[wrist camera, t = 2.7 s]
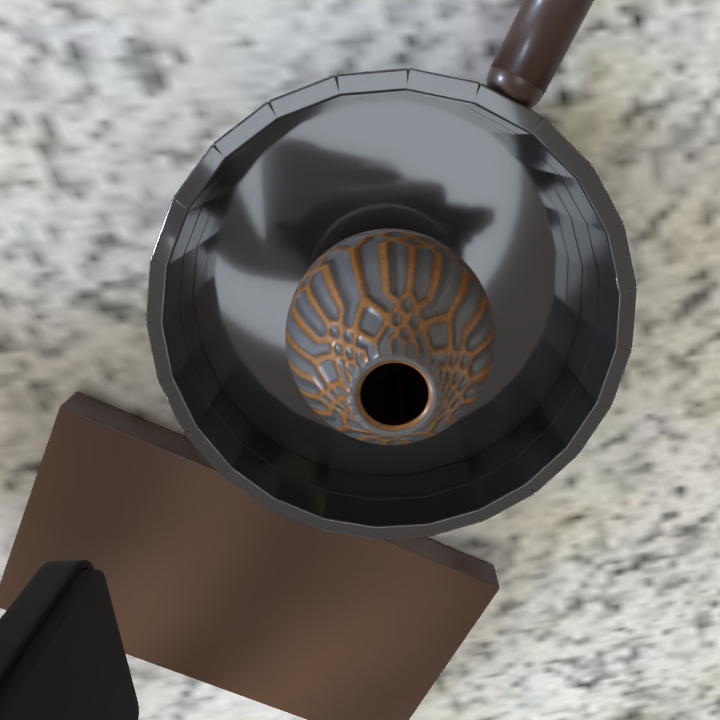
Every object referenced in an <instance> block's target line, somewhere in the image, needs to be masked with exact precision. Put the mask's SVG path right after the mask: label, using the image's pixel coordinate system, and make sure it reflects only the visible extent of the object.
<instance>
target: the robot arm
mask: <svg viewBox="0 0 720 720" xmlns="http://www.w3.org/2000/svg"><path fill="white" fill-rule="evenodd" d="M138 716H139V706H138V701H137V697H136V693H135V689H134V686H133V682H132V678H131V674H130V670H129V666H128V662H127V659H126V655H125V651H124V647H123V643H122V639H121V636H120V632H119V628H118V624H117V620H116V616H115V613H114V609H113V605H112V601H111V597H110V593H109V590H108V586H107V582H106V578H105V575H104V573H103V572H102V571H101V570H98V569H97V570H94V567H93V565H92V564H91V562H90V561H88V560H67V561H49V562H47V563H45V564H44V565H43V566H41V567H40V569H39V570H38V571H37V572H36V574H35V575H34V576H33V578H32V579H31V580H30V581H29V583H28V584H27V585H26V587H25V588H24V589H23V590H22V592H21V593H20V594H19V596H18V597H17V598H16V599H15V601H14V602H13V603H12V605H11V606H10V607H9V608H8V610H7V611H6V612H5V614H4V615H3V616H2V617H1V619H0V720H138Z"/></svg>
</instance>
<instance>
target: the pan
mask: <svg viewBox="0 0 720 720" xmlns="http://www.w3.org/2000/svg"><path fill="white" fill-rule="evenodd" d="M376 229H403V230H410V231H414V232H418V233H421V234H424V235H427V236H429V237H431V238H433V239H435V240H437V241H439V242H441V243H442V244H444V245H446V246H447V247H449V248H450V249H451V250H453V251H454V252H455V253H456V254H458V255H459V256H460V257H461V258H462V259H463V260H464V261H465V262H466V263H467V264H468V265H469V267H470V268H471V269H472V270H473V272H474V273H475V274H476V276H477V277H478V279H479V281H480V282H481V284H482V286H483V288H484V290H485V292H486V294H487V296H488V299H489V302H490V305H491V308H492V312H493V317H494V325H495V349H494V356H493V361H492V365H491V369H490V372H489V375H488V378H487V380H486V382H485V385H484V387H483V389H482V390H481V392H480V394H479V396H478V397H477V399H476V400H475V402H474V403H473V404H472V406H471V407H470V408H469V409H468V410H467V412H466V413H465V414H464V415H463V416H462V417H460V418H459V419H458V420H457V421H456V422H455V423H453V424H452V425H451V426H449V427H448V428H446V429H445V430H443V431H442V432H440V433H438V434H436V435H434V436H432V437H429V438H427V439H424V440H421V441H417V442H413V443H408V444H401V445H380V444H373V443H368V442H364V441H360V440H357V439H355V438H352V437H350V436H348V435H345V434H344V433H342V432H340V431H338V430H337V429H335V428H333V427H332V426H331V425H329V424H328V423H326V422H325V421H324V420H323V419H322V418H321V417H320V416H319V415H318V414H317V413H316V412H315V411H314V410H313V409H312V408H311V407H310V405H309V404H308V403H307V401H306V400H305V399H304V397H303V395H302V394H301V392H300V390H299V388H298V386H297V384H296V382H295V380H294V378H293V375H292V372H291V369H290V366H289V362H288V358H287V352H286V341H285V328H286V320H287V315H288V311H289V307H290V304H291V300H292V298H293V295H294V293H295V291H296V288H297V286H298V285H299V283H300V281H301V279H302V278H303V276H304V275H305V273H306V272H307V270H308V269H309V268H310V267H311V265H312V264H313V263H314V262H315V261H316V260H317V259H318V258H319V257H320V256H321V255H322V254H324V253H325V252H326V251H327V250H328V249H330V248H331V247H332V246H334V245H335V244H337V243H339V242H340V241H342V240H344V239H346V238H348V237H351V236H353V235H356V234H359V233H362V232H366V231H370V230H376ZM635 302H636V281H635V276H634V271H633V266H632V261H631V257H630V252H629V247H628V242H627V237H626V232H625V228H624V225H623V221H622V220H621V218H620V216H619V214H618V212H617V210H616V208H615V207H614V205H613V203H612V201H611V199H610V197H609V195H608V193H607V192H606V190H605V188H604V186H603V184H602V182H601V180H600V179H599V177H598V175H597V173H596V171H595V169H594V167H593V166H591V163H590V162H589V161H588V160H587V159H586V158H585V157H584V156H583V155H582V154H581V153H580V152H579V151H578V150H577V149H576V148H575V147H574V146H573V145H572V144H571V143H570V142H569V141H568V140H567V139H566V138H565V137H564V136H563V135H562V134H561V133H560V132H559V131H558V130H557V129H556V128H555V127H554V126H553V125H552V124H551V123H550V122H549V121H548V120H547V119H546V118H544V117H542V115H540V114H538V113H536V112H534V111H533V110H531V109H529V108H527V107H525V106H523V105H521V104H520V103H518V102H516V101H514V100H512V99H510V98H508V97H506V96H505V95H503V94H501V93H499V92H497V91H495V90H493V89H492V88H490V87H488V86H486V85H484V84H482V83H479V82H476V81H471V80H466V79H461V78H456V77H451V76H447V75H442V74H437V73H432V72H427V71H422V70H417V69H412V68H409V69H407V68H401V69H390V70H378V71H367V72H355V73H344V74H337V75H336V76H335V75H332V76H330V77H327V78H325V79H322V80H320V81H317V82H314V83H312V84H309V85H307V86H304V87H302V88H299V89H297V90H294V91H291V92H289V93H286V94H284V95H281V96H279V97H276V98H274V99H271V100H270V101H269V102H266V103H264V104H263V105H262V106H260V107H259V108H258V109H257V110H255V111H254V112H253V113H251V114H250V115H249V116H247V117H246V118H245V119H244V120H242V121H241V122H240V123H238V124H237V125H236V126H235V127H233V128H232V129H231V130H229V131H228V132H227V133H225V134H224V135H223V136H222V137H220V138H219V139H218V140H216V141H215V142H214V145H211V146H210V148H209V149H208V150H207V152H206V153H205V154H204V156H203V157H202V159H201V160H200V161H199V163H198V164H197V165H196V167H195V168H194V169H193V171H192V172H191V174H190V175H189V176H188V178H187V179H186V180H185V182H184V183H183V185H182V186H181V187H180V189H179V190H178V191H177V193H176V194H175V196H174V199H173V200H172V201H171V204H170V206H169V209H168V212H167V215H166V217H165V220H164V223H163V226H162V229H161V231H160V234H159V237H158V240H157V242H156V245H155V248H154V251H153V253H152V256H151V261H150V271H149V285H148V300H147V314H146V321H147V323H146V324H147V329H148V334H149V339H150V344H151V349H152V354H153V358H154V363H155V368H156V373H157V378H158V380H159V384H160V386H161V388H162V390H163V392H164V394H165V396H166V398H167V400H168V402H169V404H170V406H171V408H172V410H173V412H174V414H175V416H176V418H177V420H178V422H179V424H180V426H181V428H182V430H183V431H184V432H185V435H186V436H187V437H188V438H189V440H190V441H191V442H192V443H193V444H194V445H195V446H196V448H197V449H198V450H199V451H200V452H201V453H202V455H203V456H204V457H205V458H206V459H207V460H208V461H209V463H210V464H211V465H212V466H213V467H214V468H215V470H216V471H217V472H218V473H219V474H220V475H221V476H222V477H223V478H225V479H226V480H228V481H229V482H230V483H232V484H233V485H235V486H236V487H237V488H239V489H240V490H242V491H243V492H244V493H246V494H247V495H249V496H250V497H251V498H253V499H254V500H256V501H257V502H258V503H260V504H261V505H263V506H264V507H265V508H268V510H271V511H273V512H276V513H278V514H281V515H283V516H285V517H288V518H290V519H293V520H295V521H298V522H300V523H303V524H305V525H307V526H310V527H312V528H315V529H317V530H319V529H320V530H322V531H328V532H334V533H340V534H346V535H352V536H358V537H364V538H370V539H374V538H375V539H390V538H408V537H426V536H430V535H431V536H433V535H437V534H440V533H444V532H447V531H451V530H454V529H458V528H461V527H465V526H468V525H472V524H475V523H479V522H483V521H484V519H485V520H487V519H489V518H491V517H493V516H495V515H497V514H498V513H500V512H502V511H504V510H506V509H508V508H509V507H511V506H513V505H515V504H517V503H519V502H520V501H522V500H524V499H526V498H528V497H530V496H531V495H533V494H534V492H535V493H536V492H537V491H538V490H540V489H541V488H542V487H543V486H544V485H545V484H546V483H547V482H548V481H550V480H551V479H552V478H553V477H554V476H555V475H556V474H557V473H559V472H560V471H561V470H562V469H563V468H564V467H565V466H566V465H567V464H569V463H570V462H571V461H572V460H573V459H574V458H575V457H576V456H577V454H579V453H580V452H581V450H582V449H583V447H584V446H585V444H586V443H587V441H588V440H589V438H590V437H591V435H592V434H593V432H594V431H595V430H596V428H597V427H598V425H599V424H600V422H601V421H602V419H603V418H604V416H605V415H606V413H607V412H608V410H609V409H610V407H611V405H612V403H613V401H614V398H615V395H616V392H617V389H618V387H619V384H620V381H621V378H622V375H623V373H624V370H625V367H626V364H627V361H628V359H629V356H630V353H631V348H632V342H633V329H634V315H635Z"/></svg>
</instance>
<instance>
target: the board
mask: <svg viewBox="0 0 720 720" xmlns="http://www.w3.org/2000/svg"><path fill="white" fill-rule="evenodd" d="M67 560H88V561H90V562H91V564H92V565H93V567H94V570H97V569H98V570H101V571H102V572H103V573H104V575H105V578H106V582H107V586H108V590H109V593H110V597H111V601H112V605H113V609H114V613H115V616H116V620H117V624H118V628H119V632H120V636H121V639H122V643H123V647H124V651H125V653H126V654H128V655H131V656H134V657H137V658H139V659H142V660H145V661H148V662H150V663H153V664H156V665H159V666H161V667H164V668H167V669H170V670H172V671H175V672H178V673H181V674H183V675H186V676H189V677H192V678H194V679H197V680H200V681H203V682H205V683H208V684H211V685H214V686H216V687H219V688H222V689H225V690H227V691H230V692H233V693H236V694H238V695H241V696H244V697H247V698H249V699H252V700H255V701H258V702H260V703H263V704H266V705H269V706H271V707H274V708H277V709H280V710H282V711H285V712H288V713H291V714H293V715H296V716H299V717H302V718H304V719H307V720H409V719H410V717H411V716H412V714H413V713H414V712H415V710H416V709H417V707H418V706H419V704H420V703H421V701H422V700H423V698H424V697H425V696H426V694H427V693H428V691H429V690H430V688H431V687H432V685H433V684H434V683H435V681H436V680H437V678H438V677H439V675H440V674H441V672H442V671H443V669H444V668H445V667H446V665H447V664H448V662H449V661H450V659H451V658H452V656H453V655H454V654H455V652H456V651H457V649H458V648H459V646H460V645H461V643H462V642H463V640H464V639H465V638H466V636H467V635H468V633H469V632H470V630H471V629H472V627H473V626H474V625H475V623H476V622H477V620H478V619H479V617H480V616H481V614H482V613H483V612H484V610H485V609H486V607H487V606H488V604H489V603H490V601H491V600H492V598H493V597H494V596H495V594H496V593H497V591H498V590H499V588H500V587H499V583H498V580H497V576H496V573H495V569H494V566H492V565H490V564H488V563H485V562H483V561H480V560H478V559H476V558H473V557H471V556H468V555H466V554H464V553H461V552H459V551H457V550H454V549H452V548H449V547H447V546H445V545H442V544H440V543H437V542H435V541H433V540H430V539H428V538H425V537H408V538H390V539H375V538H374V539H370V538H364V537H358V536H352V535H346V534H340V533H334V532H328V531H322V530H320V529H319V530H317V529H315V528H312V527H310V526H307V525H305V524H303V523H300V522H298V521H295V520H293V519H290V518H288V517H285V516H283V515H281V514H278V513H276V512H273V511H271V510H268V508H265V507H264V506H263V505H261V504H260V503H258V502H257V501H256V500H254V499H253V498H251V497H250V496H249V495H247V494H246V493H244V492H243V491H242V490H240V489H239V488H237V487H236V486H235V485H233V484H232V483H230V482H229V481H228V480H226V479H225V478H223V477H222V476H221V475H220V474H219V473H218V472H217V471H216V470H215V468H214V467H213V466H212V465H211V464H210V463H209V461H208V460H207V459H206V458H205V457H204V456H203V455H202V453H201V452H200V451H199V450H198V449H197V448H196V446H195V445H194V444H193V443H192V442H191V441H190V440H189V438H186V437H184V436H181V435H179V434H177V433H174V432H172V431H170V430H167V429H165V428H162V427H160V426H158V425H155V424H153V423H150V422H148V421H146V420H143V419H141V418H138V417H136V416H134V415H131V414H129V413H126V412H124V411H122V410H119V409H117V408H115V407H112V406H110V405H107V404H105V403H103V402H100V401H98V400H95V399H93V398H91V397H88V396H86V395H83V394H81V393H79V392H76V393H75V394H74V395H73V396H71V397H70V398H69V399H68V400H67V401H66V402H65V403H64V404H62V405H61V406H60V409H59V412H58V415H57V418H56V421H55V424H54V426H53V429H52V432H51V435H50V438H49V441H48V444H47V447H46V450H45V453H44V456H43V459H42V462H41V465H40V468H39V471H38V474H37V477H36V479H35V482H34V485H33V488H32V491H31V494H30V497H29V500H28V503H27V506H26V509H25V512H24V515H23V518H22V521H21V524H20V527H19V530H18V532H17V535H16V538H15V541H14V544H13V547H12V550H11V553H10V556H9V559H8V562H7V565H6V568H5V571H4V574H3V577H2V580H1V582H0V608H2V609H5V610H8V608H9V607H10V606H11V605H12V603H13V602H14V601H15V599H16V598H17V597H18V596H19V594H20V593H21V592H22V590H23V589H24V588H25V587H26V585H27V584H28V583H29V581H30V580H31V579H32V578H33V576H34V575H35V574H36V572H37V571H38V570H39V569H40V567H41V566H43V565H44V564H45V563H47V562H49V561H67Z"/></svg>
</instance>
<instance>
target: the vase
mask: <svg viewBox="0 0 720 720" xmlns="http://www.w3.org/2000/svg"><path fill="white" fill-rule="evenodd" d="M285 341H286V352H287V358H288V362H289V366H290V369H291V372H292V375H293V378H294V380H295V382H296V384H297V386H298V388H299V390H300V392H301V394H302V395H303V397H304V399H305V400H306V401H307V403H308V404H309V405H310V407H311V408H312V409H313V410H314V411H315V412H316V413H317V414H318V415H319V416H320V417H321V418H322V419H323V420H324V421H325V422H326V423H328V424H329V425H331V426H332V427H333V428H335V429H337V430H338V431H340V432H342V433H344V434H345V435H348V436H350V437H352V438H355V439H357V440H360V441H364V442H368V443H373V444H380V445H401V444H408V443H413V442H417V441H421V440H424V439H427V438H429V437H432V436H434V435H436V434H438V433H440V432H442V431H443V430H445V429H446V428H448V427H449V426H451V425H452V424H453V423H455V422H456V421H457V420H458V419H459V418H460V417H462V416H463V415H464V414H465V413H466V412H467V410H468V409H469V408H470V407H471V406H472V404H473V403H474V402H475V400H476V399H477V397H478V396H479V394H480V392H481V390H482V389H483V387H484V385H485V382H486V380H487V378H488V375H489V372H490V369H491V365H492V361H493V356H494V349H495V325H494V317H493V312H492V308H491V305H490V302H489V299H488V296H487V294H486V292H485V290H484V288H483V286H482V284H481V282H480V281H479V279H478V277H477V276H476V274H475V273H474V272H473V270H472V269H471V268H470V267H469V265H468V264H467V263H466V262H465V261H464V260H463V259H462V258H461V257H460V256H459V255H458V254H456V253H455V252H454V251H453V250H451V249H450V248H449V247H447V246H446V245H444V244H442V243H441V242H439V241H437V240H435V239H433V238H431V237H429V236H427V235H424V234H421V233H418V232H414V231H410V230H403V229H376V230H370V231H366V232H362V233H359V234H356V235H353V236H351V237H348V238H346V239H344V240H342V241H340V242H339V243H337V244H335V245H334V246H332V247H331V248H330V249H328V250H327V251H326V252H325V253H324V254H322V255H321V256H320V257H319V258H318V259H317V260H316V261H315V262H314V263H313V264H312V265H311V267H310V268H309V269H308V270H307V272H306V273H305V275H304V276H303V278H302V279H301V281H300V283H299V285H298V286H297V288H296V291H295V293H294V295H293V298H292V300H291V304H290V307H289V311H288V315H287V320H286V328H285Z"/></svg>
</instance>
